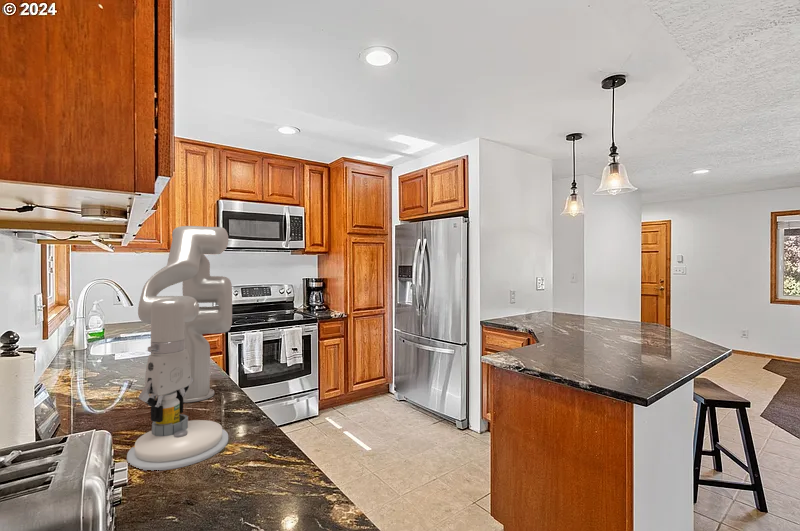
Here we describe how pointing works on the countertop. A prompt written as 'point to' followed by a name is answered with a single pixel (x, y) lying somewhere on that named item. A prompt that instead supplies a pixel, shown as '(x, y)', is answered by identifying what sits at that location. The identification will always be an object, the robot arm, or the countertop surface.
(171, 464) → the base
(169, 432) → the white round disc
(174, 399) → the supplement bottle
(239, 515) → the countertop surface
